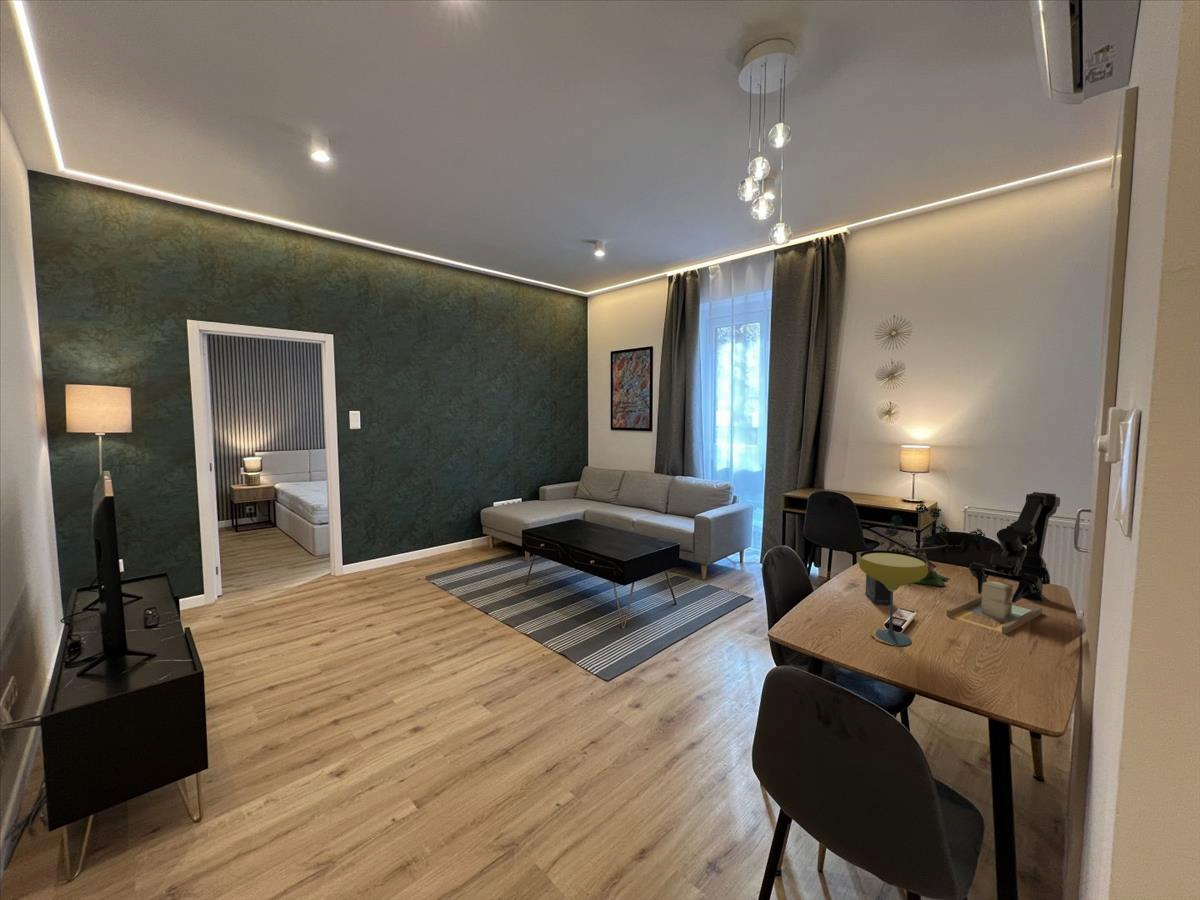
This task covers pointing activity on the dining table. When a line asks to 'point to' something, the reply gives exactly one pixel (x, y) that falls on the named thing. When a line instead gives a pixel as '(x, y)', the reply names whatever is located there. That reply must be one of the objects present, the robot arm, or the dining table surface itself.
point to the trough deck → (1011, 622)
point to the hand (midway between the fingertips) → (995, 597)
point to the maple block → (997, 599)
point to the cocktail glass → (893, 580)
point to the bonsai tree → (931, 574)
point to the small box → (877, 591)
